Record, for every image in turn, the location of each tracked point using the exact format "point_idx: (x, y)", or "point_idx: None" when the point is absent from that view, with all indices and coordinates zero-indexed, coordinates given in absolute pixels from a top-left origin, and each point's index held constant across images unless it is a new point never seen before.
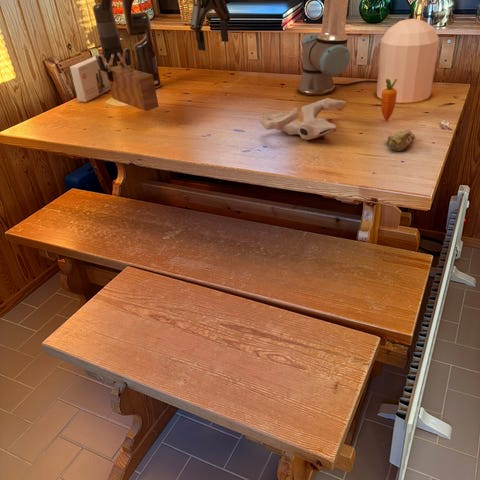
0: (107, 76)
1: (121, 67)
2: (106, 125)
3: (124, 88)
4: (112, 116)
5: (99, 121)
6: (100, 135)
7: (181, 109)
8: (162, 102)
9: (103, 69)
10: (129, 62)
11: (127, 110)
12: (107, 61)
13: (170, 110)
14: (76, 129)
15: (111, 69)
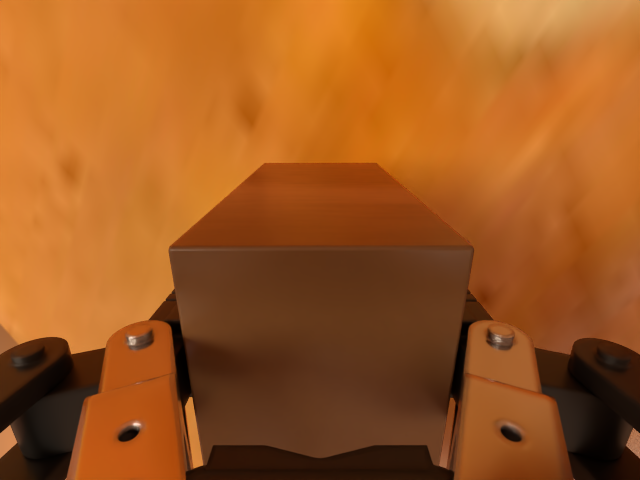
0: (165, 307)
1: (396, 414)
2: (181, 213)
3: None
4: (264, 106)
5: (173, 119)
6: (115, 305)
7: (540, 325)
8: (589, 148)
9: (27, 464)
10: (594, 464)
11: (380, 86)
12: (127, 474)
13: (505, 295)
14: (26, 126)
15: (222, 379)
